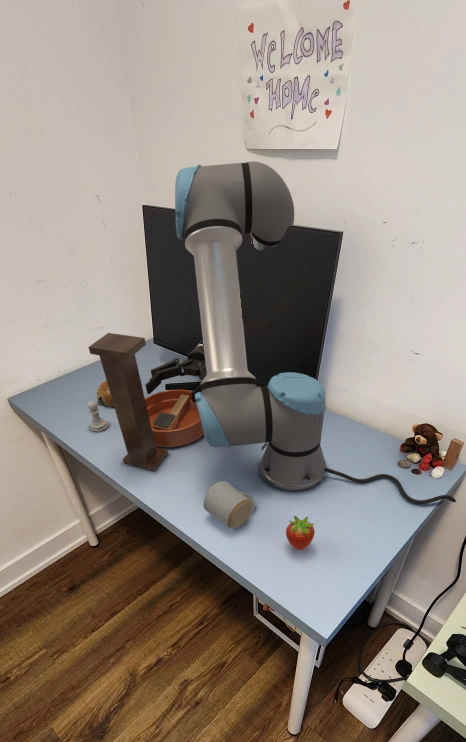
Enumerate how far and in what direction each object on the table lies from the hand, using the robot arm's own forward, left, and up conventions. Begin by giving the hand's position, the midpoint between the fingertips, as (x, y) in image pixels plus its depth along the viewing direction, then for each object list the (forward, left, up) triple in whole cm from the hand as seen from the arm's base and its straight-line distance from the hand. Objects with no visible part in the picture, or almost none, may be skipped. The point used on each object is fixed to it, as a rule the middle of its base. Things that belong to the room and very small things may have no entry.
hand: (169, 393), depth 110 cm
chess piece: (+20, +8, -10) cm, 24 cm away
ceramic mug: (-28, +26, -10) cm, 39 cm away
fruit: (-44, +30, -10) cm, 54 cm away
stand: (0, +16, -10) cm, 18 cm away
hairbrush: (0, -1, -8) cm, 8 cm away
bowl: (0, +1, -10) cm, 10 cm away
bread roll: (+24, -6, -10) cm, 27 cm away
